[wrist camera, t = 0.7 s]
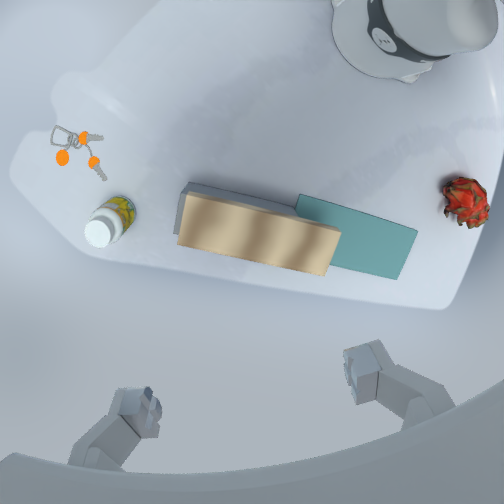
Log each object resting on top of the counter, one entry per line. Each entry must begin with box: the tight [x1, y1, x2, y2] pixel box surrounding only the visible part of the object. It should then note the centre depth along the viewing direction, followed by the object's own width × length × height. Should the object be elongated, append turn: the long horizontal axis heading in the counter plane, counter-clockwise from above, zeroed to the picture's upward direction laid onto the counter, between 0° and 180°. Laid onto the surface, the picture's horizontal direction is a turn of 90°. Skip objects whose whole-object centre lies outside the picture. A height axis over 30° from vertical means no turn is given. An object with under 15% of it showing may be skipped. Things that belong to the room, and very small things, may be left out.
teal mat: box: [295, 194, 418, 280], centre depth 49 cm, size 23×10×1 cm, turn 75°
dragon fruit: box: [443, 177, 490, 229], centre depth 43 cm, size 8×8×12 cm
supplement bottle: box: [85, 196, 136, 248], centre depth 41 cm, size 5×5×10 cm
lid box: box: [173, 182, 299, 235], centre depth 43 cm, size 16×6×7 cm, turn 75°
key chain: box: [50, 125, 107, 181], centre depth 40 cm, size 13×7×1 cm, turn 65°
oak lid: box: [177, 191, 342, 277], centre depth 40 cm, size 20×7×3 cm, turn 75°
